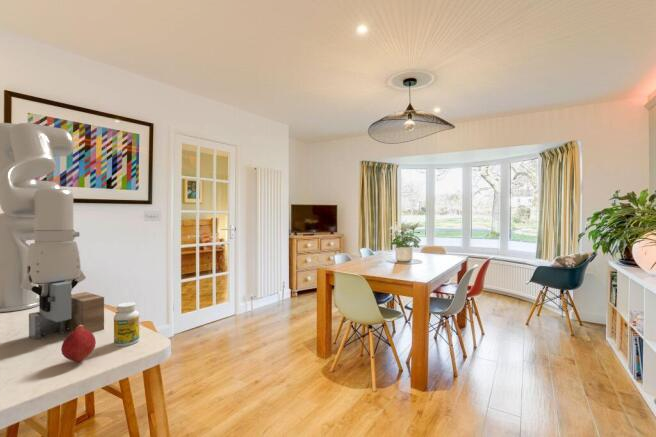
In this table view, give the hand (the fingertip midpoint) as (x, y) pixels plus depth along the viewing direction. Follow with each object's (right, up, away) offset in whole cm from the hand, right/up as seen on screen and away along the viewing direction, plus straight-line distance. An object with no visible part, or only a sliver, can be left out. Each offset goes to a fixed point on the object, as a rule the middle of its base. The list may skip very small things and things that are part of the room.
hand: (55, 308), depth 82 cm
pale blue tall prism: (0, -2, 0) cm, 2 cm away
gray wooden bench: (-4, -7, +4) cm, 9 cm away
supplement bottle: (+19, -8, -2) cm, 21 cm away
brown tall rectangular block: (+2, -8, +7) cm, 10 cm away
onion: (+16, -8, -12) cm, 22 cm away
